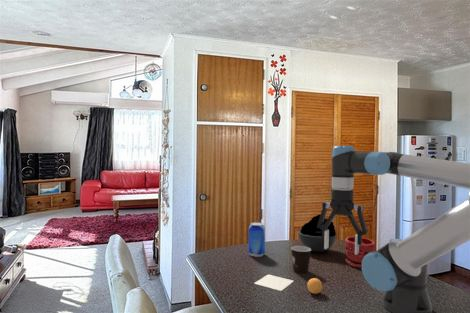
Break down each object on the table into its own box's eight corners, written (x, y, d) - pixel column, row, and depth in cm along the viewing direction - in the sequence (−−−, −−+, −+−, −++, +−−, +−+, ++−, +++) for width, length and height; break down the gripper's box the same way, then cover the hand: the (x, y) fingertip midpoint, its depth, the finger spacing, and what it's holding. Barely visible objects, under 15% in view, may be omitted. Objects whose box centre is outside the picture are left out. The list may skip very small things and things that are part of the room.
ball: (324, 292, 124) (324, 278, 124) (319, 297, 120) (319, 282, 120) (310, 288, 127) (310, 274, 127) (305, 293, 123) (305, 279, 123)
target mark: (294, 281, 135) (294, 280, 135) (281, 291, 125) (281, 290, 125) (268, 274, 141) (268, 274, 141) (253, 283, 131) (253, 283, 131)
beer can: (246, 256, 166) (247, 224, 166) (250, 251, 174) (251, 221, 174) (262, 258, 164) (263, 226, 163) (266, 253, 172) (266, 222, 171)
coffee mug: (310, 275, 141) (311, 252, 141) (290, 273, 143) (290, 250, 143) (310, 266, 153) (310, 244, 153) (291, 264, 154) (291, 243, 154)
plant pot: (346, 268, 151) (346, 242, 151) (343, 259, 164) (344, 235, 164) (376, 271, 148) (377, 244, 148) (371, 261, 161) (372, 237, 160)
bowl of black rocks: (322, 259, 163) (323, 221, 162) (290, 250, 177) (291, 215, 177) (343, 251, 176) (344, 216, 176) (312, 243, 191) (312, 211, 191)
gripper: (378, 190, 114) (377, 254, 115) (315, 185, 127) (314, 243, 127) (373, 192, 108) (372, 259, 108) (308, 187, 121) (307, 247, 121)
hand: (341, 250), depth 118 cm, fingers open, 10 cm apart
